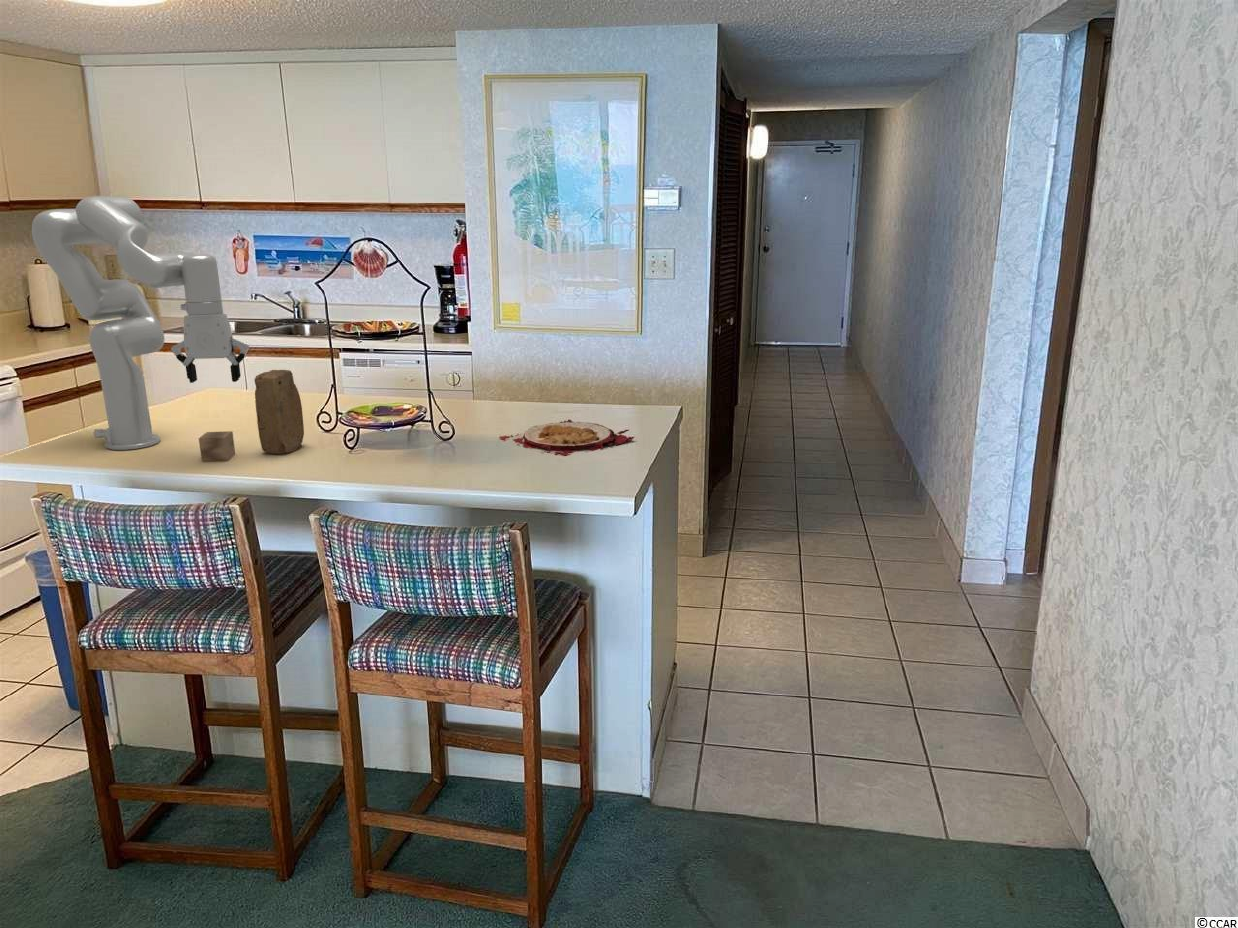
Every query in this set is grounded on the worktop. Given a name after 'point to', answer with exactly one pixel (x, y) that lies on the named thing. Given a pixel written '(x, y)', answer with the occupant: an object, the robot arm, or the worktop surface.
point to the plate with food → (569, 437)
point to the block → (278, 412)
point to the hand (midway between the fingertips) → (214, 381)
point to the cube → (217, 446)
